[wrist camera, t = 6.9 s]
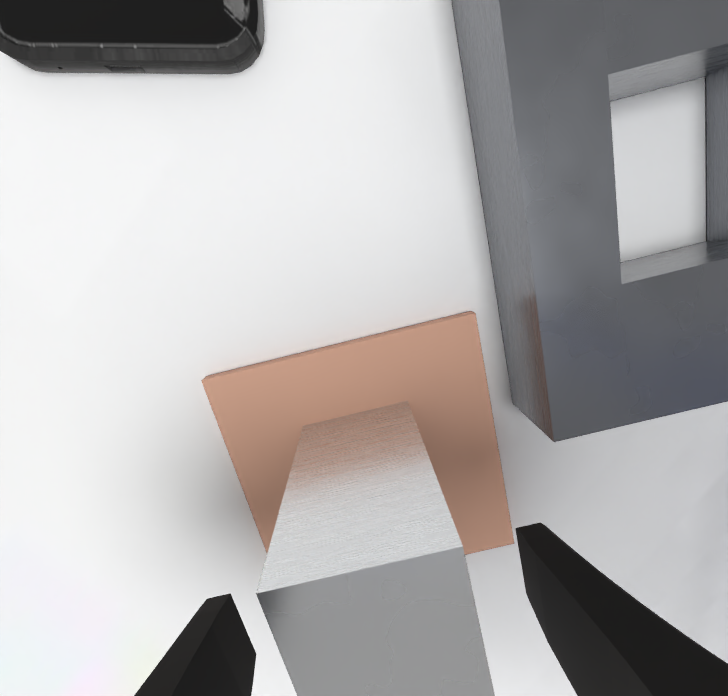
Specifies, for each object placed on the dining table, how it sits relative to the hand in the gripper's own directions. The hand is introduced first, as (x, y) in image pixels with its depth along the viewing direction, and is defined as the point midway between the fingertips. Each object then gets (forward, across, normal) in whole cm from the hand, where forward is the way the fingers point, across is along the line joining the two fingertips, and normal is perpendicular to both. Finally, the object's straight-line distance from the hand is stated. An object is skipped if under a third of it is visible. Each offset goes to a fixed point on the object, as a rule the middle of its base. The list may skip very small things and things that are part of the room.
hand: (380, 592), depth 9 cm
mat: (+6, 0, 0) cm, 6 cm away
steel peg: (+5, 0, 0) cm, 5 cm away
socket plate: (+6, -11, -8) cm, 15 cm away
